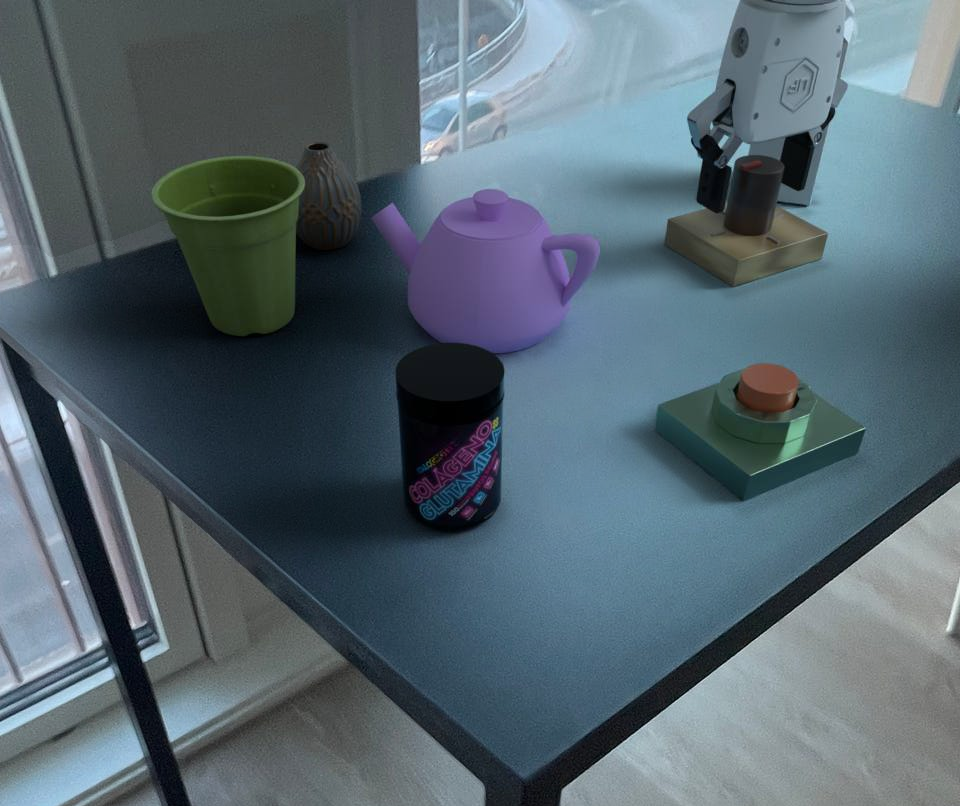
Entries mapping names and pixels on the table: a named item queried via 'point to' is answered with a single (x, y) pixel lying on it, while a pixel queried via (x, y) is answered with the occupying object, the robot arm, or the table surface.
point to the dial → (753, 194)
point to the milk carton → (776, 146)
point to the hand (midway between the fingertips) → (750, 196)
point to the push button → (767, 388)
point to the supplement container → (451, 434)
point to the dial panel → (744, 245)
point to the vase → (327, 199)
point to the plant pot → (237, 237)
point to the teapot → (488, 271)
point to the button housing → (757, 436)
